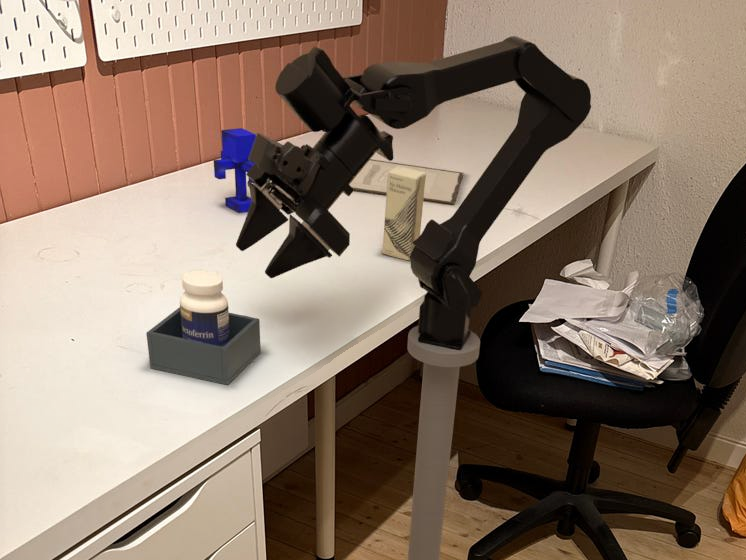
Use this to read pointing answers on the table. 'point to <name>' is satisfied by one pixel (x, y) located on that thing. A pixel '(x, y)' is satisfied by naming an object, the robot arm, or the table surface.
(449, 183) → the picture frame
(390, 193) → the box
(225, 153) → the figurine
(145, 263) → the table surface
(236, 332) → the bin
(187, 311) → the pill bottle
